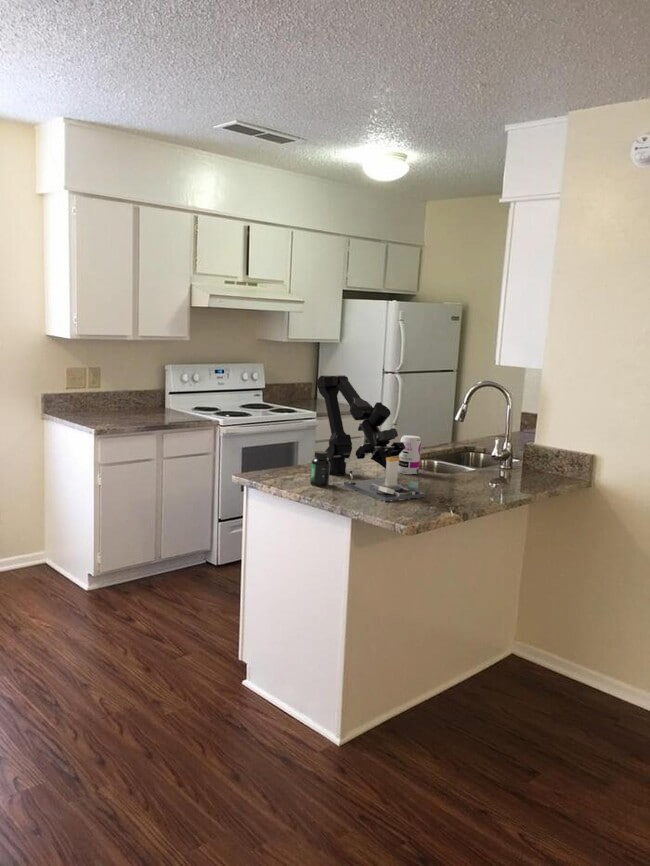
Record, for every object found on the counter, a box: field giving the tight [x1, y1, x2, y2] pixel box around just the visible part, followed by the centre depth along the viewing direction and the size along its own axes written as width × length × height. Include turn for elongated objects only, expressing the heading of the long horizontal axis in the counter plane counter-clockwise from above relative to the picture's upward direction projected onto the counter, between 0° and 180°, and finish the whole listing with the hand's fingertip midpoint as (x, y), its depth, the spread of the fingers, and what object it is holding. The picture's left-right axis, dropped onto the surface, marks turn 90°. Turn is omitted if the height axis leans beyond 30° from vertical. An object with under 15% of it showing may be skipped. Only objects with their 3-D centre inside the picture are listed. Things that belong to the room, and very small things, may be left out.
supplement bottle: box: [309, 450, 331, 488], centre depth 261 cm, size 7×7×12 cm
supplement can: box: [398, 434, 422, 475], centre depth 290 cm, size 8×8×15 cm
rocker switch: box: [378, 486, 394, 494], centre depth 247 cm, size 4×3×1 cm
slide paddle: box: [381, 456, 401, 491], centre depth 253 cm, size 5×5×11 cm
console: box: [343, 477, 426, 502], centre depth 257 cm, size 24×18×2 cm
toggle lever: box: [348, 469, 354, 481], centre depth 260 cm, size 1×1×4 cm
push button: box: [407, 480, 419, 490], centre depth 253 cm, size 3×3×2 cm
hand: (389, 470), depth 254 cm, fingers closed, pressing on slide paddle
